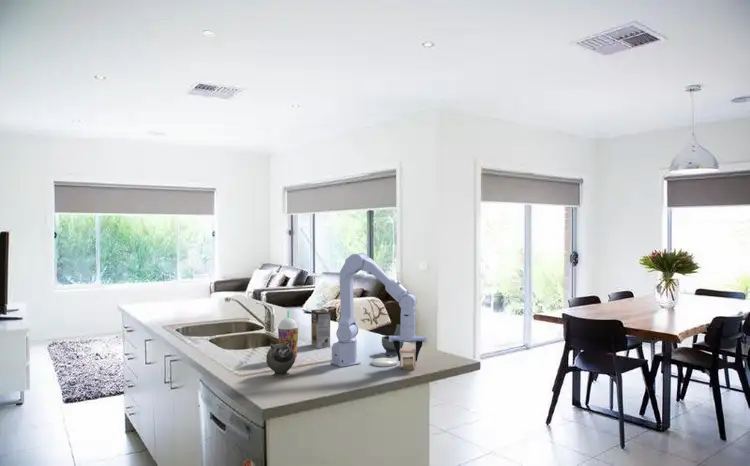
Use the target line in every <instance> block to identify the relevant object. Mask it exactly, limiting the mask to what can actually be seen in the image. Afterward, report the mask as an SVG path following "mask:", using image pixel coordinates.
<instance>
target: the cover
mask: <svg viewBox="0 0 750 466" xmlns="http://www.w3.org/2000/svg"><path fill="white" fill-rule="evenodd" d="M402 354H413V369H416V362H417V361H416V347H415V348H411V347H410V348H407V347H405V348H404V347H402V348H400V361H399V364H400V365H399V368H400V369H401V368H402Z"/></svg>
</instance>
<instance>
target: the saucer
mask: <svg viewBox="0 0 750 466" xmlns="http://www.w3.org/2000/svg"><path fill="white" fill-rule="evenodd" d="M397 361H398V360H396V358H390V357H389V358H388V357H379V358H378V357H377V358H373V359H372V360H371V365H372V366H375V367H379V368H388V367H394V366H396V365H398V362H397Z"/></svg>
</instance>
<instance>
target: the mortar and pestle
mask: <svg viewBox="0 0 750 466" xmlns="http://www.w3.org/2000/svg"><path fill="white" fill-rule="evenodd" d="M395 327H396V328H395V330H394V333H393V335H391V336H400V327H401V324H396V326H395ZM389 336H390V335H385V336H381V345H382V348H383V349H384V350H385V355H387V356H398V355H397V352H396V349H395V347H394V344H393V342H389ZM404 344H405V342H400V348H404V347H403V346H404Z"/></svg>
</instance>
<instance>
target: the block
mask: <svg viewBox="0 0 750 466" xmlns="http://www.w3.org/2000/svg"><path fill="white" fill-rule="evenodd" d="M402 370H414V356H404V355H403V356H402Z"/></svg>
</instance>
